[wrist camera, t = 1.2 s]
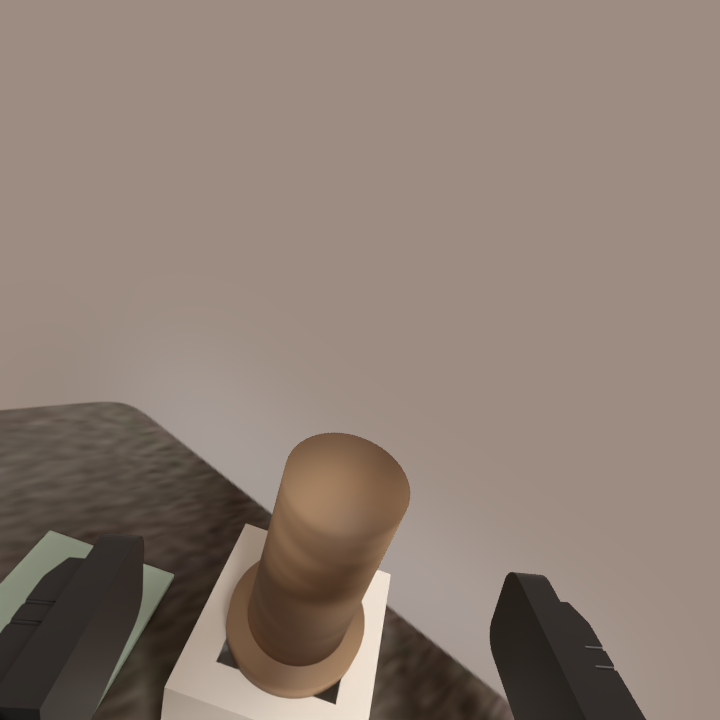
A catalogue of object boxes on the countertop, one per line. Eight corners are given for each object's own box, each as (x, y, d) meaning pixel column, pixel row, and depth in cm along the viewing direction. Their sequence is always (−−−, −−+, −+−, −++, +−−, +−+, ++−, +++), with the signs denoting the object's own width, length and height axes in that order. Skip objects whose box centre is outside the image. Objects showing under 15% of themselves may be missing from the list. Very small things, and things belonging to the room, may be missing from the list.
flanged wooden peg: (198, 681, 22) (230, 516, 16) (253, 557, 28) (293, 400, 22) (337, 731, 22) (425, 585, 16) (363, 596, 28) (436, 449, 21)
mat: (-77, 671, 25) (-78, 668, 25) (50, 533, 33) (50, 530, 33) (84, 730, 25) (84, 727, 25) (174, 577, 33) (174, 574, 32)
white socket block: (156, 756, 25) (164, 687, 21) (229, 597, 32) (246, 523, 28) (320, 816, 25) (362, 759, 20) (355, 642, 32) (390, 574, 28)
